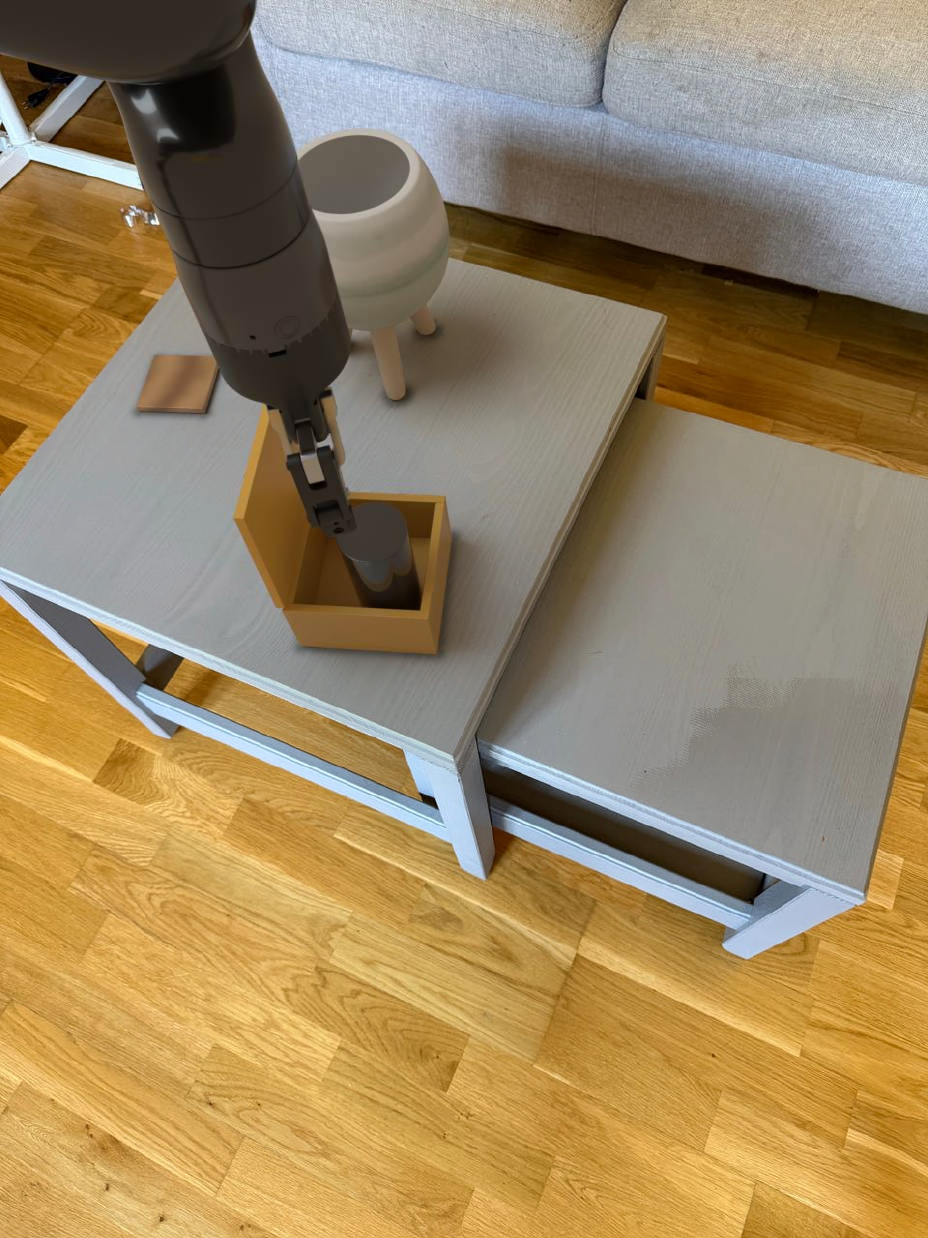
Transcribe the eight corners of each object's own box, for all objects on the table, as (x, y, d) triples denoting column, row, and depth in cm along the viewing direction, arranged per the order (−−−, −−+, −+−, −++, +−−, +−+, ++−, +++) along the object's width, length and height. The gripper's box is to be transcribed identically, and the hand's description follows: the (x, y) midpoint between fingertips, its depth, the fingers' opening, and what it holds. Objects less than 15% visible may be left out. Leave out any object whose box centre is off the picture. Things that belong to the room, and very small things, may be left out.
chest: (452, 536, 87) (445, 495, 81) (436, 654, 81) (428, 619, 75) (324, 530, 88) (308, 489, 82) (300, 646, 83) (281, 611, 77)
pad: (138, 411, 98) (135, 406, 97) (156, 359, 101) (154, 354, 100) (205, 413, 97) (202, 408, 96) (221, 360, 100) (219, 355, 99)
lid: (278, 383, 70) (268, 382, 70) (243, 518, 64) (232, 518, 64) (312, 486, 82) (303, 486, 82) (285, 608, 76) (275, 608, 76)
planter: (409, 436, 93) (373, 259, 73) (286, 381, 98) (221, 201, 78) (490, 333, 99) (476, 143, 79) (369, 286, 104) (328, 96, 84)
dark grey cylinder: (357, 630, 82) (329, 560, 71) (367, 575, 85) (342, 500, 74) (420, 633, 81) (402, 564, 71) (428, 578, 84) (411, 503, 73)
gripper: (182, 220, 50) (263, 414, 65) (207, 410, 44) (291, 580, 58) (313, 190, 51) (365, 390, 65) (358, 374, 44) (404, 552, 58)
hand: (330, 479), depth 61 cm, fingers open, 8 cm apart
